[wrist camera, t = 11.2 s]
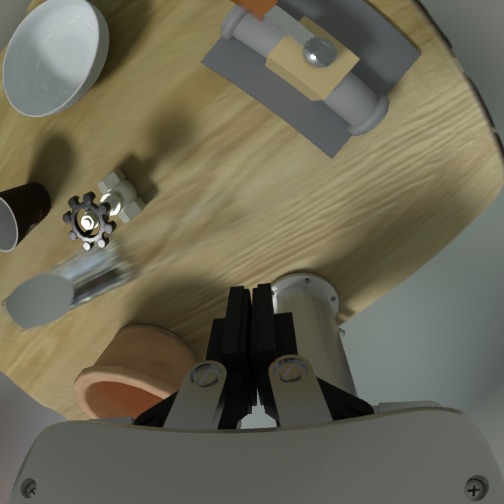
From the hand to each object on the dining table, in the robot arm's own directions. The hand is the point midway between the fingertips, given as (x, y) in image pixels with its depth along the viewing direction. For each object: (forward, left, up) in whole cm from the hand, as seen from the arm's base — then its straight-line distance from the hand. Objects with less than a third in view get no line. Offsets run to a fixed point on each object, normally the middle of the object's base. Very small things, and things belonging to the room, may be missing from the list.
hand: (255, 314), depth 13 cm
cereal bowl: (+32, +1, -29) cm, 43 cm away
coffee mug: (+28, +25, -29) cm, 47 cm away
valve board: (+4, -17, -29) cm, 34 cm away
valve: (+13, +13, -29) cm, 34 cm away
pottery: (-5, +39, -29) cm, 48 cm away
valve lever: (+9, -15, -19) cm, 26 cm away
